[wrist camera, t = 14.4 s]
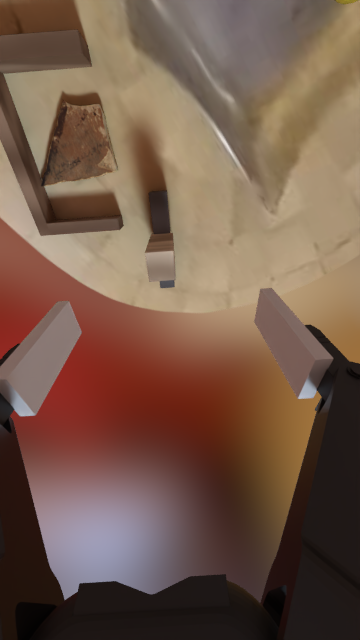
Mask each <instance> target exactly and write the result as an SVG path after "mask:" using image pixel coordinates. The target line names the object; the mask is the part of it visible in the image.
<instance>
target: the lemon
mask: <svg viewBox="0 0 360 640" xmlns="http://www.w3.org/2000/svg"><path fill="white" fill-rule="evenodd" d="M335 1H337V2H338V3H341V4H349V3H354V2H356V1H358V0H335Z"/></svg>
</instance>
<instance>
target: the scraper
mask: <svg viewBox="0 0 360 640" xmlns="http://www.w3.org/2000/svg"><path fill="white" fill-rule="evenodd" d="M149 200H150V208H151V216H152V224H153V232H154V234H152V235H151V236H150V239H149V242H148V245H147V248H146V251H145V257H146V263H147V270H148V276H149V282H153V281H160V287H161V288H170V287H175V286H174V280H176V278H175V256H174V243H173V233H170V222H169V210H168V198H167V190H166V191H152V192H149Z"/></svg>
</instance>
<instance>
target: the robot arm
mask: <svg viewBox="0 0 360 640" xmlns="http://www.w3.org/2000/svg"><path fill="white" fill-rule="evenodd" d="M255 324H256V325H257V327H258V329H259V331H260V332H261V334H262V336H263V338H264V340H265V341H266V343H267V345H268V347H269V348H270V350H271V352H272V354H273V355H274V357H275V359H276V361H277V363H278V364H279V366H280V368H281V370H282V372H283V373H284V375H285V377H286V379H287V381H288V382H289V384H290V386H291V388H292V389H293V391H294V393H295V394H296V396H297V398H298V399H302V398H313V397H314V395H315V393H316V391H318V392H319V393H320V395H321V396H322V398H321V399H320V401H319V403H318V405H317V407H316V408H315V410H316V411H317V412H316V416H315V419H314V423H313V426H312V430H311V434H310V437H309V441H308V445H307V448H306V452H305V455H304V459H303V462H302V466H301V470H300V473H299V477H298V481H297V484H296V488H295V491H294V495H293V498H292V503H291V506H290V509H289V513H288V516H287V520H286V524H285V527H284V531H283V535H282V538H281V542H280V545H279V549H278V552H277V555H276V557H275V559H274V562H273V564H272V566H271V569H270V572H269V575H268V578H267V581H266V585H265V588H264V592H263V595H262V599H261V602H260V603H259V602H258V600H257V599H256V598H254V597H253V596H252V595H251V594H250V593H249V592H247V591H246V590H245V589H244V588H242V587H240V586H239V585H237V584H235V583H233V582H231V581H228V580H226V575H225V574H224V575H207V576H191V577H188V578H186V579H184V580H182V581H180V582H178V583H176V584H174V585H172V586H170V587H168V588H166V589H164V590H162V591H160V592H158V593H156V594H153V595H150V594H147V593H144V592H142V591H139V590H137V589H134V588H131V587H129V586H126V585H124V584H121V583H118V582H116V581H112V582H96V583H80V584H79V589H78V592H77V593H75V594H74V595H72V596H71V597H69V598H68V599H66V600H64V596H63V593H62V590H61V587H60V584H59V582H58V580H57V578H56V577H55V575H54V574H53V572H52V570H51V568H50V566H49V563H48V559H47V555H46V551H45V547H44V543H43V539H42V535H41V531H40V527H39V523H38V519H37V515H36V511H35V507H34V503H33V499H32V495H31V491H30V487H29V482H28V479H27V474H26V470H25V466H24V463H23V459H22V454H21V451H20V446H19V443H18V438H17V434H16V430H15V427H14V422H13V420H12V418H11V417H10V415H11V413H12V412H13V410H15V411H16V412H17V413H18V414H19V416H32V415H36V414H37V412H38V410H39V408H40V406H41V405H42V403H43V401H44V399H45V397H46V396H47V394H48V392H49V390H50V388H51V387H52V385H53V383H54V381H55V380H56V378H57V376H58V374H59V372H60V371H61V369H62V367H63V365H64V363H65V362H66V359H67V358H68V356H69V354H70V352H71V351H72V349H73V347H74V346H75V344H76V342H77V340H78V338H79V337H80V335H81V333H82V332H81V329H80V327H79V325H78V322H77V320H76V317H75V315H74V312H73V310H72V308H71V305H70V303H69V301H60V302H57V303H56V304H55V305H54V306H53V307H52V309H51V310H50V311H49V312H48V313H47V314H46V315H45V317H44V318H43V319H42V320H41V321H40V322H39V323H38V324H37V326H36V327H35V328H34V329H33V330H32V331H31V333H30V334H29V335H28V336H27V337H26V338H25V339H24V341H22V343H21V344H17V345H16V346H14V347H13V348H11V349H10V350H9V351H8V352H7V353H6V354H5V355H4V356H3V358H2V359H0V640H360V364H359V363H354V362H349V361H348V360H347V358H346V357H345V356H344V355H343V354H342V353H341V352H340V351H339V350H338V349H337V348H336V347H335V346H334V345H333V344H332V343H330V341H329V340H328V338H326V337H325V335H324V334H323V333H322V332H321V331H320V330H319V329H317V328H315V327H314V326H312V325H304V324H303V323H302V322H301V321H300V320H299V319H298V318H297V316H296V315H295V314H294V313H293V312H292V311H291V310H290V309H289V307H288V306H287V305H286V304H285V303H284V302H283V300H282V299H281V298H280V297H279V296H278V295H277V294H276V292H275V291H274V290H273V289H272V288H266V289H260V294H259V299H258V305H257V310H256V315H255Z"/></svg>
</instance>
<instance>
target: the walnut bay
mask: <svg viewBox="0 0 360 640" xmlns="http://www.w3.org/2000/svg"><path fill="white" fill-rule="evenodd" d="M81 67H92V65H91V59H90V54H89V49H88V45H87V44H86V42H85V41H84V39H83V37H82V36H81V34H80V33H79V31H78V30H65V31H52V32H39V33H26V34H13V35H0V140H1V142H2V144H3V147H4V149H5V152H6V154H7V156H8V159H9V161H10V164H11V166H12V168H13V171H14V173H15V175H16V178H17V180H18V183H19V185H20V187H21V190H22V192H23V195H24V197H25V199H26V202H27V204H28V207H29V209H30V211H31V214H32V216H33V218H34V221H35V223H36V226H37V228H38V230H39V233H40V235H41V236H43V235H57V234H70V233H84V232H97V231H111V230H120V229H121V228H122V227H123V226H124V225H123V220H122V215H118V216H104V217H91V218H77V219H64V220H56V218H55V215H54V213H53V210H52V207H51V204H50V202H49V199H48V196H47V193H46V191H45V188H44V186H41V184H42V180H41V177H40V174H39V171H38V169H37V166H36V163H35V160H34V158H33V155H32V152H31V149H30V147H29V144H28V141H27V138H26V136H25V133H24V130H23V127H22V125H21V122H20V119H19V116H18V114H17V111H16V108H15V105H14V103H13V100H12V97H11V94H10V92H9V89H8V86H7V83H6V81H5V78H4V75H3V73H16V72H29V71H42V70H55V69H68V68H81Z"/></svg>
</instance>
